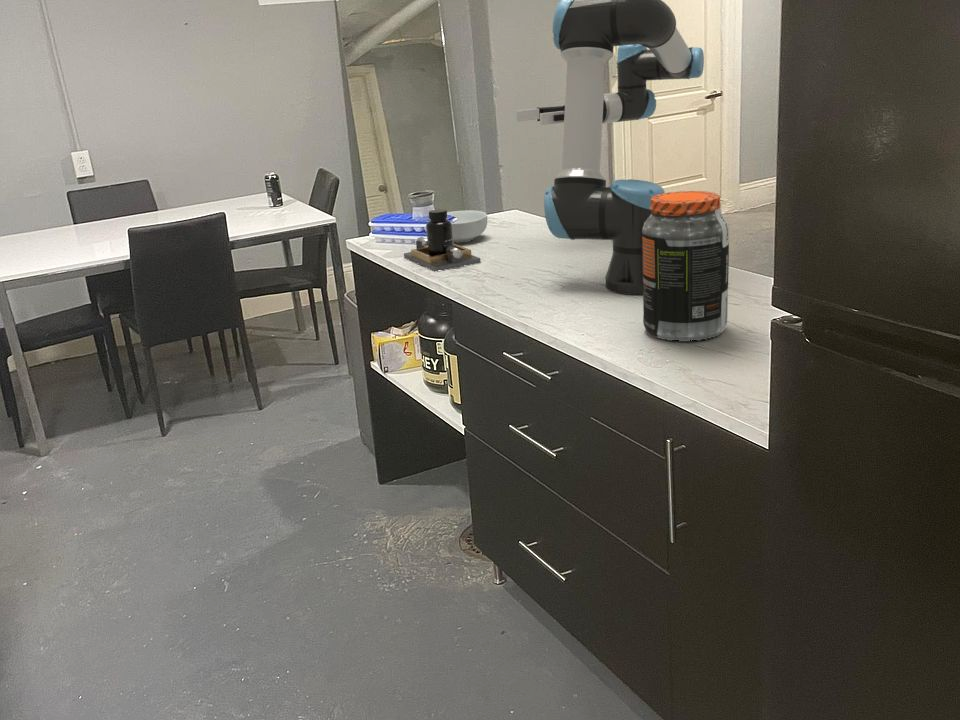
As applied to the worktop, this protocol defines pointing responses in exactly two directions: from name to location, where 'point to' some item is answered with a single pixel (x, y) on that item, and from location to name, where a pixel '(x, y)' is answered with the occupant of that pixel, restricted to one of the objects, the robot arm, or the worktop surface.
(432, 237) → the supplement bottle
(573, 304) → the worktop surface
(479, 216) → the cereal bowl
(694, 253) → the supplement tub
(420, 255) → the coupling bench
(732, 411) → the worktop surface
